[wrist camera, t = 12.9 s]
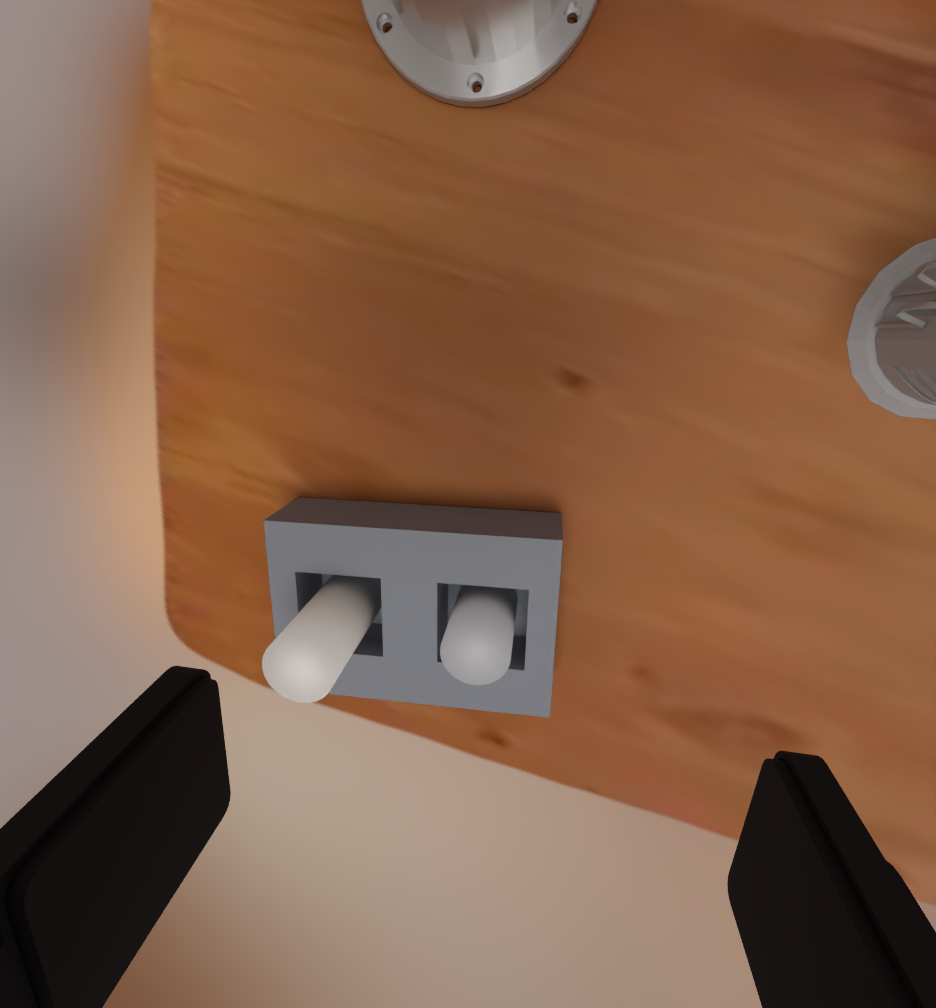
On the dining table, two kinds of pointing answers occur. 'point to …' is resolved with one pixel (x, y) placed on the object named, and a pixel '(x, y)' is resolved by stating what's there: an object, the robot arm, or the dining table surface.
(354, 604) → the peg
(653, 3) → the dining table surface
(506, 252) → the dining table surface
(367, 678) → the socket block
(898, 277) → the french press
